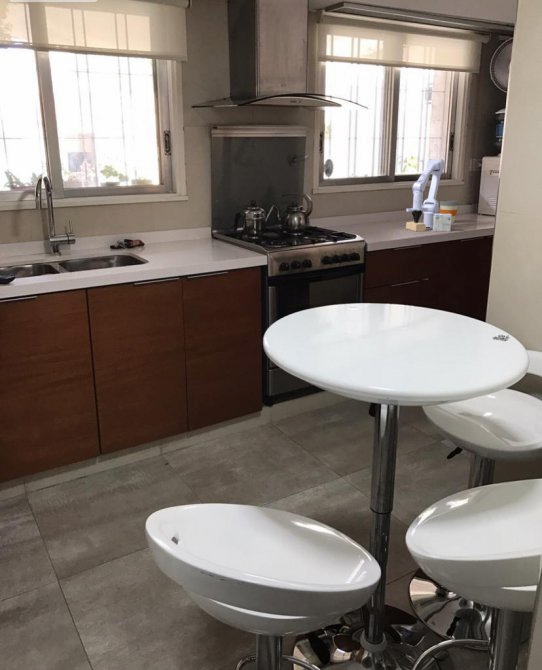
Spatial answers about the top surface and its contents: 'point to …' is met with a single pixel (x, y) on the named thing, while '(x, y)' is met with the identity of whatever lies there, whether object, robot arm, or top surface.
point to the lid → (416, 223)
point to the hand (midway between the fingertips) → (416, 222)
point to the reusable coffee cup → (449, 208)
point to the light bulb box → (441, 222)
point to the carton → (415, 227)
